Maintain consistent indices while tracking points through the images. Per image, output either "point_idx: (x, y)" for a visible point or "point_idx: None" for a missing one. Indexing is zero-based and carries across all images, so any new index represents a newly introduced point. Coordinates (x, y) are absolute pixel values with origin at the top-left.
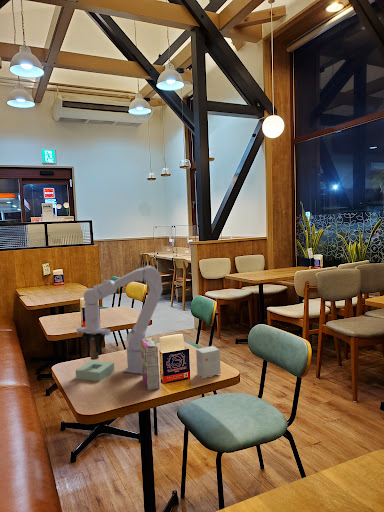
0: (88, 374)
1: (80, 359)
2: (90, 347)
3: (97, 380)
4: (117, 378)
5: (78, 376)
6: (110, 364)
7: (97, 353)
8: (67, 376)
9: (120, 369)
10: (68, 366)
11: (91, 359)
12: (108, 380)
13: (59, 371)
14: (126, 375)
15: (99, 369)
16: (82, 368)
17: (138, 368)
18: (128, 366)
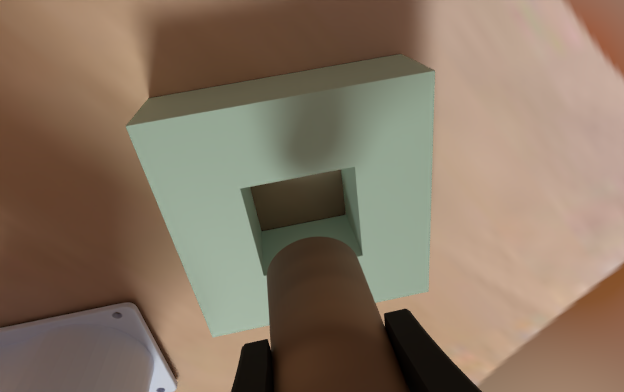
0: (269, 90)
1: (561, 309)
2: (369, 376)
3: (173, 94)
4: (69, 207)
5: (381, 62)
6: (208, 305)
7: (271, 334)
8: (504, 61)
9: (198, 318)
10: (590, 207)
11: (321, 237)
12: (99, 146)
13: (620, 113)
14: (61, 272)
15: (204, 189)
16: (391, 137)
17: (4, 362)
18: (94, 351)
